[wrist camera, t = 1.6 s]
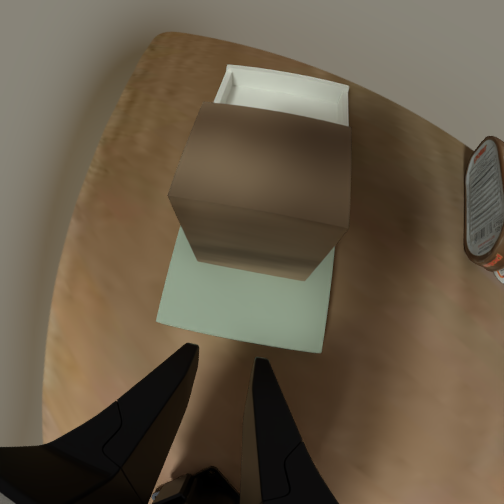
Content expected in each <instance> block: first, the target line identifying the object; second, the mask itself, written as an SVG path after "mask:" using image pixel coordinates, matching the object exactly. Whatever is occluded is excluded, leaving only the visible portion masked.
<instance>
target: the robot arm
mask: <svg viewBox="0 0 504 504" xmlns="http://www.w3.org/2000/svg"><path fill="white" fill-rule="evenodd" d="M198 361H199V346H198V345H196V344H192V343H186V344H184V345H183V346H182V347H181V348H180V349H178V350H177V351H176V352H175V353H174V354H172V355H171V356H170V357H169V358H168V359H166V360H165V361H164V362H163V363H162V364H160V365H159V366H158V367H157V368H155V369H154V370H153V371H152V372H151V373H149V374H148V375H147V376H146V377H145V378H143V379H142V380H141V381H140V382H138V383H137V384H136V385H135V386H133V387H132V388H131V389H130V390H129V391H127V392H126V393H125V394H124V395H122V396H121V397H120V398H119V399H117V401H115V402H113V403H112V404H111V405H110V406H109V407H107V408H106V409H105V410H103V411H102V412H100V413H99V414H98V415H96V416H95V417H93V418H92V419H90V420H89V421H87V422H85V423H84V424H82V425H80V426H79V427H77V428H75V429H74V430H72V431H70V432H68V433H67V434H65V435H63V436H61V437H60V438H58V439H56V440H54V441H52V442H50V443H47V444H43V445H39V446H23V447H0V504H148V502H149V499H150V497H151V495H152V492H153V490H154V487H155V485H156V482H157V480H158V477H159V475H160V472H161V470H162V468H163V465H164V463H165V460H166V458H167V455H168V453H169V450H170V448H171V446H172V443H173V441H174V438H175V436H176V433H177V431H178V428H179V426H180V423H181V421H182V419H183V416H184V414H185V411H186V408H187V406H188V402H189V399H190V395H191V391H192V387H193V383H194V379H195V375H196V372H197V368H198ZM209 471H214V472H215V474H210V473H209ZM152 499H153V500H154V501H153V503H152V504H339V503H338V502H337V500H336V499H335V497H334V496H333V494H332V493H331V491H330V490H329V488H328V486H327V485H326V483H325V482H324V480H323V479H322V477H321V475H320V474H319V472H318V470H317V469H316V467H315V465H314V463H313V461H312V459H311V457H310V455H309V453H308V451H307V449H306V447H305V444H304V442H303V441H302V438H301V435H300V433H299V431H298V429H297V426H296V424H295V422H294V419H293V417H292V415H291V412H290V410H289V408H288V405H287V403H286V400H285V398H284V396H283V393H282V391H281V389H280V386H279V384H278V382H277V379H276V377H275V374H274V372H273V370H272V367H271V365H270V362H269V360H268V359H267V358H261V357H256V358H255V359H254V363H253V368H252V372H251V376H250V382H249V388H248V393H247V399H246V404H245V410H244V416H243V432H242V458H241V484H240V494H239V493H238V492H237V490H236V489H235V488H234V487H233V486H232V485H231V484H230V483H229V482H228V480H227V479H226V478H225V477H224V476H223V475H222V473H221V472H220V471H219V470H218V469H217V468H216V467H213V466H210V467H208V468H206V469H204V470H202V471H200V472H198V473H196V474H194V475H192V474H186V475H183V476H181V477H179V478H177V479H175V480H173V481H170V482H168V483H166V484H164V485H163V487H162V489H161V490H159V491H156V492H154V493H153V495H152Z"/></svg>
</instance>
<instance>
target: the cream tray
mask: <svg viewBox="0 0 504 504" xmlns="http://www.w3.org/2000/svg"><path fill="white" fill-rule="evenodd" d="M348 90H349V86H348V85H344V84H340V83H336V82H332V81H327V80H323V79H319V78H314V77H309V76H304V75H299V74H293V73H288V72H282V71H276V70H269V69H262V68H255V67H246V66H237V65H227V71H226V74H225V76H224V78H223V81H222V83H221V86H220V88H219V90H218V93H217V95H216V98H215V100H214V103H222V104H231V105H239V106H246V107H254V108H260V109H267V110H273V111H279V112H284V113H290V114H295V115H300V116H305V117H310V118H315V119H319V120H324V121H328V122H332V123H337V124H341V125H345V126H349V123H348Z"/></svg>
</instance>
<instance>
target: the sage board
mask: <svg viewBox="0 0 504 504" xmlns="http://www.w3.org/2000/svg"><path fill="white" fill-rule="evenodd" d="M334 250H335V246H334V247H333V249H332V250H331V251H330V252H329V253H328V255H327V256H326V257H325V258H324V259H323V261H322V262H321V263H320V264H319V265H318V267H317V268H316V269H315V270H314V271H313V272H312V274H311V275H310V276H309V277H308V278H307V279H306V281H299V280H294V279H288V278H282V277H277V276H272V275H266V274H261V273H255V272H250V271H245V270H239V269H234V268H229V267H224V266H218V265H213V264H208V263H203V262H198V261H197V259H196V257H195V255H194V253H193V251H192V249H191V247H190V244H189V242H188V240H187V238H186V236H185V234H184V231H183V229H182V227H181V226H180V230H179V233H178V237H177V240H176V244H175V247H174V251H173V255H172V259H171V262H170V266H169V270H168V274H167V278H166V282H165V286H164V290H163V294H162V298H161V302H160V306H159V311H158V315H157V319H156V322H159V323H162V324H165V325H169V326H173V327H177V328H182V329H186V330H190V331H195V332H199V333H204V334H208V335H213V336H218V337H223V338H228V339H233V340H238V341H243V342H248V343H254V344H260V345H265V346H271V347H277V348H283V349H290V350H296V351H303V352H310V353H321V351H322V345H323V339H324V332H325V325H326V318H327V311H328V304H329V296H330V288H331V279H332V270H333V261H334Z"/></svg>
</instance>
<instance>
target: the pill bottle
mask: <svg viewBox="0 0 504 504" xmlns="http://www.w3.org/2000/svg"><path fill="white" fill-rule="evenodd" d="M494 273H495V275H496V277H497V278H498V279H499V281H501V282H502V283H504V268H503V269H501V270H499V271H495V272H494Z"/></svg>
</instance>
